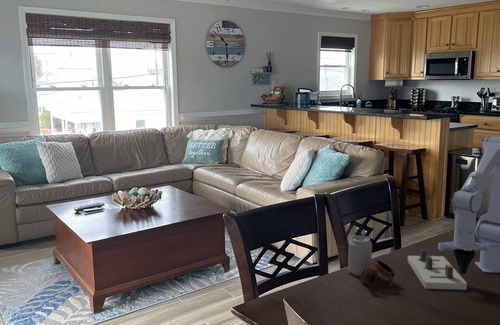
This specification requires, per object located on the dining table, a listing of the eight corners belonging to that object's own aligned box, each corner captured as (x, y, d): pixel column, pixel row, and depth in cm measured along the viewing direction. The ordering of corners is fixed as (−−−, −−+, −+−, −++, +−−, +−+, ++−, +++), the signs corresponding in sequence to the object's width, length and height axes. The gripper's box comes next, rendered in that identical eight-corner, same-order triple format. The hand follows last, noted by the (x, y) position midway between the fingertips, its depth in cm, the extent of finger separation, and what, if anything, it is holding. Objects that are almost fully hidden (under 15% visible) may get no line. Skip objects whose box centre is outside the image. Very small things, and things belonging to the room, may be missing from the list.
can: (369, 268, 150) (370, 234, 148) (373, 277, 143) (374, 241, 141) (346, 267, 151) (347, 234, 149) (349, 277, 144) (350, 241, 142)
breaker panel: (443, 261, 154) (443, 246, 154) (466, 289, 133) (467, 272, 132) (407, 261, 156) (408, 245, 155) (425, 288, 134) (425, 271, 133)
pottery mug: (363, 276, 145) (377, 256, 143) (387, 295, 140) (402, 275, 138) (349, 279, 135) (364, 258, 134) (374, 301, 130) (390, 279, 129)
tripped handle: (449, 274, 138) (450, 263, 137) (452, 278, 135) (453, 267, 135) (445, 274, 138) (445, 263, 138) (447, 277, 136) (448, 267, 135)
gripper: (444, 233, 131) (441, 277, 133) (495, 234, 129) (492, 278, 131) (436, 226, 138) (434, 268, 140) (485, 227, 136) (482, 269, 138)
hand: (462, 272), depth 136 cm, fingers closed
